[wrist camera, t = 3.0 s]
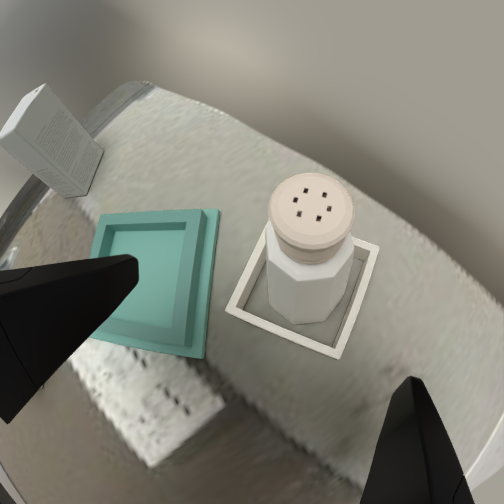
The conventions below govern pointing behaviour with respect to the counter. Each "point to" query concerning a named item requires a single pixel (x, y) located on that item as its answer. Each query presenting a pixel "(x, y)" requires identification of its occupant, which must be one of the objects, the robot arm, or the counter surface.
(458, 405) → the counter surface
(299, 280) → the pepper shaker
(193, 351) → the teal square tray
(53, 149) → the skincare box
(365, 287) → the white square tray
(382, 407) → the counter surface
